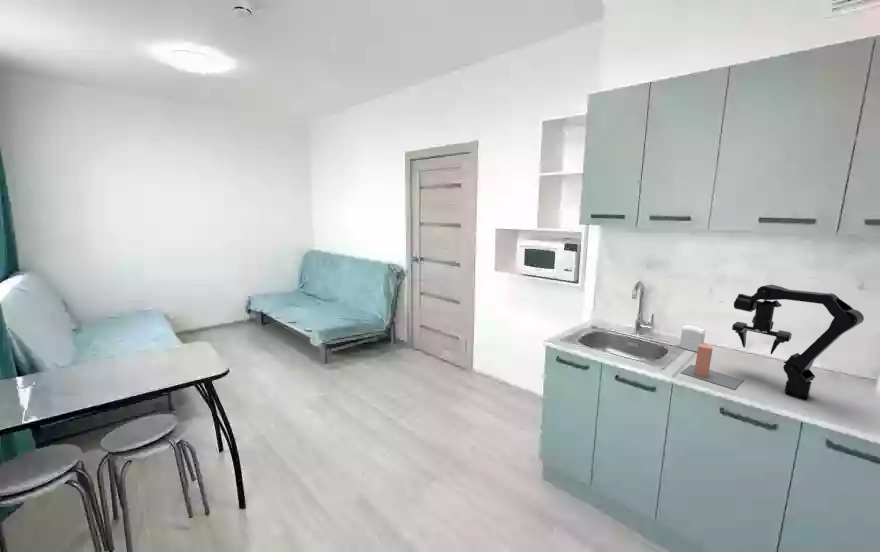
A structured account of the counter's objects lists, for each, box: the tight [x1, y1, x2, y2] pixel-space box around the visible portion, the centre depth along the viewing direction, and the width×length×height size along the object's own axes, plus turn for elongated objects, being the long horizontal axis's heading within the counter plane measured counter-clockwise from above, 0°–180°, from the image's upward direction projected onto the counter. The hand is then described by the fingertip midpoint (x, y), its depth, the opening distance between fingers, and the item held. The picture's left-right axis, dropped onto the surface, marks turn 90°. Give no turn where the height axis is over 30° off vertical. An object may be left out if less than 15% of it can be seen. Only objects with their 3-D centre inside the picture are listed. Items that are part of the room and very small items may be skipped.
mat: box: [680, 364, 745, 391], centre depth 171 cm, size 20×13×1 cm, turn 40°
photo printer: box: [679, 325, 706, 353], centre depth 201 cm, size 10×4×12 cm, turn 39°
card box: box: [694, 343, 713, 378], centre depth 171 cm, size 5×4×13 cm
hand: (757, 350), depth 167 cm, fingers open, 9 cm apart
